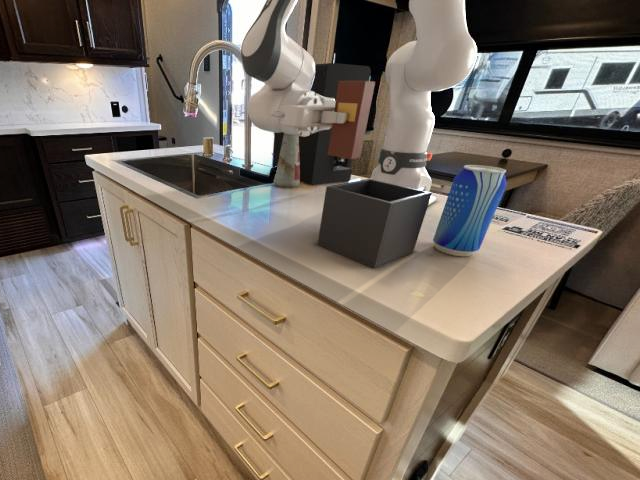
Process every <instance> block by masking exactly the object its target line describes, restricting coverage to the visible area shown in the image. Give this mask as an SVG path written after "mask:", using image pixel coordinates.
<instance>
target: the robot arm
mask: <svg viewBox="0 0 640 480" xmlns="http://www.w3.org/2000/svg"><path fill="white" fill-rule="evenodd" d="M297 3H298V0H266V1H265V3H264V5H263V7H262V9H261V11H260V13H259V14H258V16H257V17H256V19H255V20H254V22H253V23H252V25H251V26H250V27H249V29H248V31H247V32H246V34H245V36H244V39H243V40H242V43H241V46H240V47H241V48H240V55H241V56H240V57H241V63H242V67H243V69H244V72H245V74H246V75H247V76H249V77H251V78H253V79H255V80H257V81H259V82H261V83H264V85H263V86H262V87H261V89H259V90H258V91H257V92H254V93H253V94H252V95H251V96H250V97H249V99H248V101H247V114H248V118H249V120H250V122H251V123H252V124H253V125H254V126H255V127H256V128H257V129H260V130H262V131H265V132H269V133H274V134H275V133H280V132H283V133H285V134H289V135H295V136H303V137H306V136H309V135H310V134H313V133H315V132H318V131H322V130H328V129H330V128H331V127H332V123H341V124H343V123H348V122H349V116H350V115H349V113H341V112H334V110H335V103H336V101H335V99H334V98H331V97H325V96H321V95H319V94H317V93H315V92H313V91H310V90H311V87H312V84H313V81H314V77H315V70H316V66H315V64H316V61H315V58H314V57H313V55H311V54H310V53H309V52H308V51H307V50H305V48H303V46H301V44H298V43H297V42H296V41H295V40H293V39H292V38H291V37H290V36H289V35H288V34H287V33H286V24H287V22H288V19H289V17H290V15H291V14H292V12H293V10H294V8H295V6H296V4H297ZM408 9H409V13H410V14H411V15H412V18H413V19H414V23H415V31H416V40H412V41H409V42H407V43H405V44H404V45H402V46H401V47H399V48H398V49H396V50H394V52H393V53H392V54H391V55H390V57H389V58H388V60H387V63H386V66H385V71H384V73H385V80H386V82H387V84H388V88H389V118H388V123H387V127H386V133H385V137H384V142H383V147H382V148H381V149H380V152H379V154H378V161H377V162H378V165H377V166H376V167H374V169H373V170H372V173H371V176H370V179H372V180H377V181H381V182H386V183H391V184H395V185H400V186H404V187H409V188H413V189H418V190H423V191H427V192H431V191H430V190H431V187H432V184H433V183H432V181H433V180H432V179H431V176H430V175H429V173H428V171H427V169H426V166H427V161H429V162H430V161H431V159H432V157H433V153H432V152H427V151H428V150H427V149H428V147H429V143H430V140H431V136H432V133H433V129H434V126H435V120H436V119H435V115H434V113H433V112H432V106H431V93H432V92H441V91H444V90H448V89H450V88H453V87H456V86H458V85H459V84H462V83H463V82H464V81H465V80H466V79H467V78H468V77H469V75H470V74H471V73H472V71H473V69H474V67H475V64H476V61H477V56H478V47H477V45H476V42H475V40H474V39H473V37H471V35H470V33H469V30H468V26H467V19H466V0H409V1H408ZM359 180H361V178H356V179H350V181H348V182H354V181H359ZM436 200H437V197H435V196H433V195H431V198H430V201H429V204H428V206H430V205H431V204H434V203H435V202H436Z"/></svg>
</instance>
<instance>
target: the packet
mask: <svg viewBox="0 0 640 480" xmlns="http://www.w3.org/2000/svg"><path fill="white" fill-rule="evenodd" d="M375 86H376V81H374V80H369V81H339V83H338V90H337V97H336V103H335V110H334V112H341V113H349V115H350V116H349V122H348V123H343V124H341V123H332V130H331V136H330V143H329V150H328V155H331V156H337V157H342V158H343V159H345V158H348V159H352V160H355V159H360V158H361V155H362V150H363V145H364V140H365V136H366V131H367V125H368V120H369V115H370V110H371V105H372V100H373V95H374V90H375Z"/></svg>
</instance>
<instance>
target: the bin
mask: <svg viewBox="0 0 640 480" xmlns="http://www.w3.org/2000/svg"><path fill="white" fill-rule="evenodd" d="M432 194H433V192H432V191H429V192H427V191H423V190H418V189H413V188H409V187H404V186H400V185H395V184H391V183H386V182H381V181H377V180H372V179H371V178H366V179H365V178H364V179H360V180H359V181H354V182H349V181H347V182H342V183H338V184H333V185H326V187H325V194H324V200H323V206H322V214H321V218H320V219H321V220H320V226H319V233H318V237H317V238H318V239H317V245H318V246H319V247H322V248H325V249H327V250H330V251H332V252H334V253H337V254H338V255H341V256H344V257H346V258H348V259H351V260H353V261H356V262H358V263H360V264H363V265H365V266H368V267H370V268H372V269H376V268H379V267H380V266H383V265H386V264H388V263H390V262H392V261H394V260H397V259H400V258H402V257H405V256H407V255H409V254H411V253H414V251H415V248H416V245H417V242H418V238H419V235H420V232H421V229H422V226H423V222H424V219H425V216H426V213H427V211H428V207H429V205H428V204H429V201H430V198H431V196H433V195H432Z"/></svg>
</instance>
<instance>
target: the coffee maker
mask: <svg viewBox="0 0 640 480" xmlns="http://www.w3.org/2000/svg"><path fill="white" fill-rule="evenodd" d="M315 66H316V70H315V77H314V81H313V84H312V87H311V90H310V91H313V92H315V93H317V94H319V95H321V96H325V97H331V98H334V99H335V101H336V97H337V90H338V83H339V81H370V79H371V68H370V66H368V65H359V64H358V65H357V64H346V63H337V62H336V63H335V62H327V63H315ZM331 130H332V127H331V128H330V129H328V130H322V131H318V132H315V133H313V134H310V135H309V136H306V137H303V136H299V162H300V183H301V184H305V185H309V186H319V185H328V184H336V183H347V182H349V181H351V180H352V179H351V178H352V172H353V169H352V165H353V159H348V158H342V157H337V156H331V155H328V150H329V143H330V136H331ZM283 136H284V133H283V132H280V133H275V132H274V138H273V152H272V164H271V166H272V167H275V166H277V165H278V161H279V156H280V151H281V146H282V141H283ZM272 167H271V168H272Z"/></svg>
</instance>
